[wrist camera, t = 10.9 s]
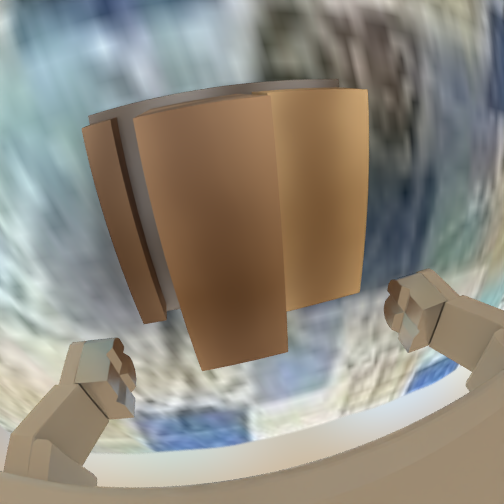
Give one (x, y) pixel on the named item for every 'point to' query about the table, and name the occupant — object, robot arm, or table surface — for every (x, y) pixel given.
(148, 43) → the table surface
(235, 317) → the walnut plank
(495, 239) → the table surface
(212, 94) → the floor section
